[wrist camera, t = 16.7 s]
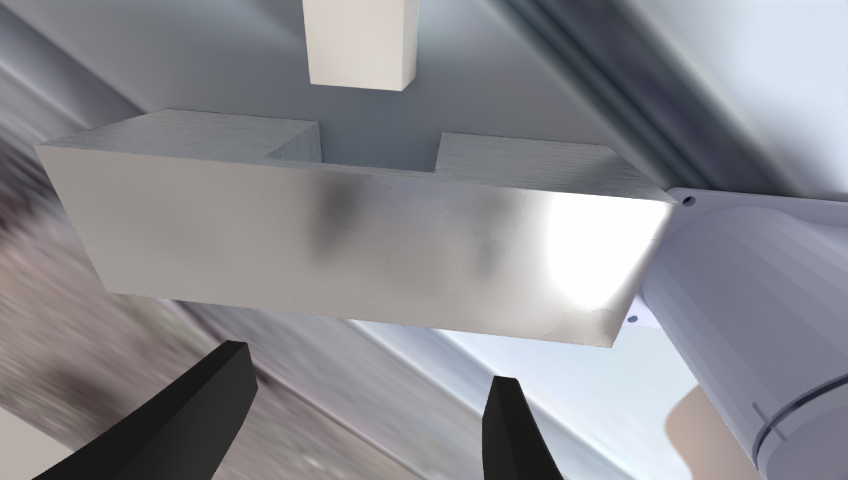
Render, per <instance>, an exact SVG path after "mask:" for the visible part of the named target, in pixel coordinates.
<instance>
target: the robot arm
mask: <svg viewBox="0 0 848 480" xmlns="http://www.w3.org/2000/svg"><path fill="white" fill-rule="evenodd" d="M666 193H667V194H668V195H669V196H671V197H672V198H673V199H674V200H676V201H677V202H678V203H679V204H678V206H677V208H676V210H675V213H674V215H673V217H672V219H671V221H670V223H669V225H668V228H667V230H666V232H665V234H664V236H663V238H662V240H661V243H660V245H659V247H658V249H657V251H656V253H655V255H654V258H653V260H652V262H651V264H650V266H649V268H648V270H647V273H646V275H645V277H644V279H643V281H642V283H641V285H640V288H639V290H638V292H637V294H636V296H635V298H634V300H633V303H632V305H631V307H630V309H629V311H628V313H627V315H626V318H625V320H624V322H623V324H622V325H631V326H641V327H650V328H659V329H663V330H664V332H665V333H666V335H667V336H668V338H669V339H670V341H671V342H672V343H673V345H674V346H675V348H676V349H677V351H678V352H679V354H680V355H681V357H682V358H683V360H684V361H685V363H686V364H687V366H688V367H689V369H690V370H691V372H692V373H693V375H694V376H695V378H696V379H697V381H698V382H699V384H700V385H701V387H702V388H703V390H704V391H705V393H706V394H707V395H708V397H709V398H710V400H711V402H712V403H713V405H714V406H715V408H716V409H717V411H718V412H719V414H720V415H721V417H722V418H723V419H724V421H725V423H726V424H727V426H728V427H729V429H730V430H731V431H732V433H733V435H734V436H735V437H736V439H737V441H738V442H739V444H740V445H741V446H742V448H743V449H744V451H745V452H746V454H747V455H748V457H749V458H750V460H751V461H752V463H753V464H754V466H755V467H756V469H757V470H758V471H759V472H760V474H761V477H762V480H848V202H839V201H827V200H816V199H805V198H793V197H782V196H771V195H759V194H748V193H737V192H726V191H714V190H703V189H692V188H680V187H676V188H672V189H669V190H668V191H666ZM690 196H691V199H690V200H689V201H688V202H686V203H683V201H684V199H685V198H687V197H690ZM630 316H633V317H631V318H629V317H630ZM257 390H258V385H257V381H256V377H255V373H254V369H253V364H252V360H251V356H250V352H249V348H248V344H247V343H245V342H238V341H230V340H227V341H225V342H224V343H223V344H221V345H220V346H219V347H217V348H216V349H215V350H213V351H212V352H211V353H210V354H208V355H207V356H206V357H204V358H203V359H202V360H201V361H199V362H198V363H197V364H196V365H194V366H193V367H192V368H190V369H189V370H188V371H187V372H185V373H184V374H183V375H182V376H180V377H179V378H178V379H176V380H175V381H174V382H172V383H171V384H170V385H169V386H167V387H166V388H165V389H163V390H162V391H161V392H159V393H158V394H157V395H155V396H154V397H153V398H151V399H150V400H149V401H147V402H146V403H145V404H143V405H142V406H141V407H139V408H138V409H137V410H135V411H134V412H132V413H131V414H130V415H128V416H127V417H125V418H124V419H123V420H121V421H120V422H118V423H117V424H116V425H114V426H113V427H111V428H110V429H109V430H107V431H106V432H104V433H103V434H101V435H100V436H99V437H97V438H96V439H94V440H93V441H91V442H90V443H88V444H87V445H85V446H84V447H82V448H81V449H79V450H78V451H76V452H75V453H73V454H72V455H70V456H68V457H67V458H65V459H64V460H62V461H61V462H59V463H57V464H56V465H54V466H53V467H51V468H50V469H48V470H46V471H45V472H43V473H42V474H40V475H38V476H37V477H35V478H33V479H32V480H211V478H212V477H213V475H214V473H215V472H216V470H217V468H218V466H219V465H220V463H221V461H222V459H223V458H224V456H225V454H226V453H227V451H228V449H229V447H230V446H231V444H232V442H233V440H234V438H235V437H236V435H237V433H238V431H239V430H240V428H241V426H242V424H243V422H244V420H245V418H246V416H247V413H248V411H249V409H250V407H251V404H252V402H253V399H254V397H255V395H256V392H257ZM482 460H483V470H484V480H564V479H563V477H562V475H561V473H560V472H559V470H558V468H557V466H556V464H555V462H554V460H553V458H552V456H551V454H550V452H549V450H548V448H547V446H546V444H545V442H544V440H543V437H542V435H541V433H540V431H539V429H538V427H537V424H536V422H535V420H534V418H533V416H532V413H531V411H530V409H529V406H528V404H527V402H526V399H525V397H524V394H523V392H522V389H521V386H520V384H519V381H518V380H517V379H516V378H509V377H501V376H494V378H493V382H492V386H491V389H490V393H489V396H488V400H487V404H486V407H485V411H484V415H483V418H482Z"/></svg>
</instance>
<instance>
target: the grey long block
mask: <svg viewBox="0 0 848 480" xmlns="http://www.w3.org/2000/svg"><path fill="white" fill-rule="evenodd" d="M33 147H34V149H35V151H36V153H37V155H38V157H39V159H40V160H41V162H42V164H43V166H44V168H45V170H46V172H47V174H48V176H49V178H50V180H51V182H52V184H53V186H54V188H55V190H56V192H57V194H58V196H59V198H60V200H61V202H62V204H63V206H64V208H65V210H66V212H67V214H68V216H69V218H70V220H71V222H72V224H73V226H74V228H75V230H76V232H77V234H78V236H79V238H80V240H81V242H82V244H83V246H84V248H85V250H86V252H87V254H88V256H89V258H90V260H91V262H92V264H93V266H94V268H95V270H96V272H97V274H98V276H99V278H100V279H101V281H102V283H103V285H104V287H105V289H106V291H107V292H110V293H119V294H128V295H137V296H146V297H155V298H164V299H173V300H182V301H191V302H200V303H209V304H218V305H227V306H236V307H245V308H254V309H264V310H273V311H282V312H291V313H300V314H309V315H318V316H327V317H336V318H345V319H354V320H363V321H372V322H381V323H390V324H399V325H408V326H417V327H426V328H435V329H444V330H453V331H462V332H471V333H480V334H489V335H498V336H507V337H516V338H525V339H534V340H543V341H552V342H561V343H570V344H580V345H589V346H598V347H607V348H612V345H613V343H614V341H615V339H616V337H617V335H618V333H619V330H620V328H621V326H622V324H623V322H624V320H625V318H626V315H627V313H628V311H629V309H630V307H631V305H632V303H633V300H634V298H635V296H636V294H637V292H638V290H639V288H640V285H641V283H642V281H643V279H644V277H645V275H646V273H647V270H648V268H649V266H650V264H651V262H652V260H653V258H654V255H655V253H656V251H657V249H658V247H659V245H660V243H661V240H662V238H663V236H664V234H665V232H666V230H667V228H668V225H669V223H670V221H671V219H672V217H673V215H674V213H675V210H676V208H677V206H678V204H679V203H678V202H677V201H676V200H674V199H673V198H672V197H671V196H669V195H668V194H667V193H666V192H664V191H663V190H662V189H661V188H659V187H658V186H657V185H656V184H654V183H653V182H652V181H651V180H649V179H648V178H647V177H646V176H644V175H643V174H642V173H641V172H639V171H638V170H637V169H636V168H634V167H633V166H632V165H631V164H629V163H628V162H627V161H626V160H624V159H623V158H622V157H621V156H619V155H618V154H617V153H616V152H614V151H613V150H612V149H611V148H609V147H608V146H605V145H593V144H581V143H569V142H557V141H545V140H533V139H521V138H509V137H497V136H486V135H474V134H462V133H450V132H442V136H441V141H440V146H439V151H438V156H437V161H436V166H435V171H434V173H430V172H419V171H408V170H397V169H386V168H374V167H363V166H352V165H341V164H330V163H323V161H322V150H321V139H320V127H319V122H318V121H306V120H294V119H282V118H270V117H258V116H246V115H235V114H223V113H211V112H199V111H187V110H175V109H164V110H160V111H156V112H153V113H149V114H145V115H141V116H138V117H134V118H130V119H126V120H123V121H119V122H115V123H112V124H108V125H104V126H100V127H97V128H93V129H89V130H85V131H82V132H78V133H74V134H70V135H67V136H63V137H59V138H55V139H52V140H48V141H44V142H40V143H37V144H33Z"/></svg>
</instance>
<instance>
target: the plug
mask: <svg viewBox="0 0 848 480" xmlns="http://www.w3.org/2000/svg"><path fill="white" fill-rule="evenodd" d="M302 2H303V12H304V23H305V33H306V44H307V54H308V65H309V75H310V84H319V85H331V86H344V87H357V88H369V89H382V90H394V91H402V90H403V89H404V88H405V87H406V86H407V85H408V84H409V83H410V82H411V81H412V80H413V79H414V78H415V77H416V59H417V36H418V14H419V0H302Z"/></svg>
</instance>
